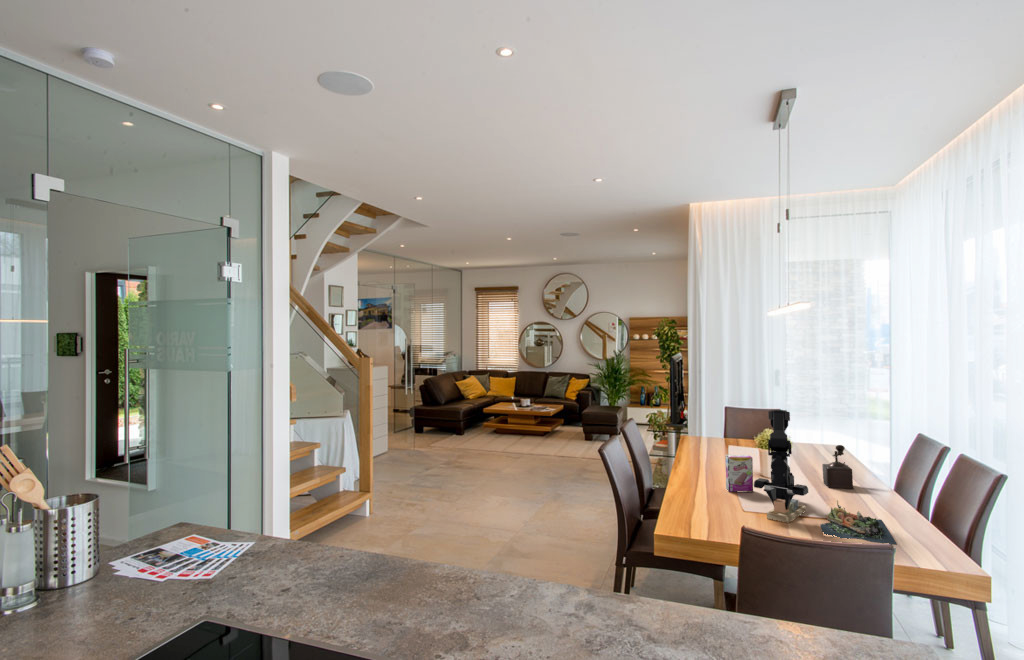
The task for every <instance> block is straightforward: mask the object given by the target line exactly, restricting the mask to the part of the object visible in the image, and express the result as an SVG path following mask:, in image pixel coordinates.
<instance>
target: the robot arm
mask: <svg viewBox="0 0 1024 660" xmlns="http://www.w3.org/2000/svg"><path fill="white" fill-rule="evenodd" d="M767 412H768V413H767V414H768V421H770V426H771V428H772V430H773V431H772V432H771V433H770V434H769V438H768V439H767V448H768V449H767V451H768V452H767V455H768V456H771V457H770V458H771V460H770V461H771V462H770V469H771V471H770V480H769V479H768V478H767V479H766V478H758V479H755V480H753V488H756V489H763V488H764V489H763V492H766V494H767V496H768V498H769V499H770V501H771V504H772V505H773V506H774V501H775V500H776V499H781V500H785V507H786V510H788V508H789V505H790V502H791V499H792V498H793V499H794V496H800V497H801V496H802V497H803V496H806V495H807V494H808V493H809V488H808V485H804V484H799V483H795V476H794V475H793V472H791V467H790V466H789V464H788V461H789V460H788V458H790V457H791V455H792V454H793V453H792V452H793V451H792V443H791V441H790V439H788V434H787V433H786V430H787V428H788V427H789V422H790V421H791V415H790V414H791V412H790V411H787V410H786V409H771V410H769V411H767Z"/></svg>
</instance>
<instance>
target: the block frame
mask: <svg viewBox="0 0 1024 660" xmlns="http://www.w3.org/2000/svg"><path fill="white" fill-rule="evenodd" d="M788 509H789V511H788V512H786V513H781V512H776V511H774V508H773V509H771V510H769V511H767V512H766V519H768V520H772V519H773V521H776V520H778V521H777V522H781V521H782V522H783V523H786V522H787V524H790V523H791V522H793V521H794V520H795V519H797V518H798V517H800V516H801V515H802V514H801V513H803V512H804V511H806V512H807V506H806V505H801V504H800V503H799V499H795V498H793V499H791V502H790V505H789V508H788ZM804 513H805V512H804ZM804 513H803V514H804ZM800 514H801V515H800ZM799 515H800V516H799ZM796 517H797V518H796ZM793 519H794V520H793ZM790 521H791V522H790ZM782 522H781V523H782Z"/></svg>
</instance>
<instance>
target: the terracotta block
mask: <svg viewBox="0 0 1024 660" xmlns="http://www.w3.org/2000/svg"><path fill="white" fill-rule="evenodd" d="M773 509H774V511H776V512H781V513H786V512H788V511H789V509H788V510H786V507H785V500H781V499H776V500H775V501H774V505H773Z"/></svg>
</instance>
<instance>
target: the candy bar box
mask: <svg viewBox="0 0 1024 660" xmlns="http://www.w3.org/2000/svg"><path fill="white" fill-rule="evenodd" d="M724 459H725V489H727V490H728V491H729V492H728V491H727V490H726V491H727V492H728V493H738V492H737V491H753V492H754V474H753V473H754V470H753V469H754V468H753V467H754V466H753V463H754V462H753V456H751V455H749V454H747V455H746V454H745V455H744V454H740V455H739V454H725V458H724Z"/></svg>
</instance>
